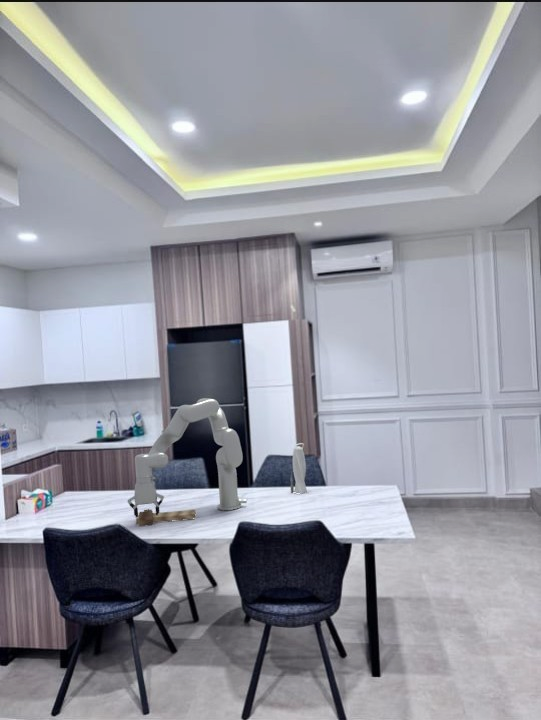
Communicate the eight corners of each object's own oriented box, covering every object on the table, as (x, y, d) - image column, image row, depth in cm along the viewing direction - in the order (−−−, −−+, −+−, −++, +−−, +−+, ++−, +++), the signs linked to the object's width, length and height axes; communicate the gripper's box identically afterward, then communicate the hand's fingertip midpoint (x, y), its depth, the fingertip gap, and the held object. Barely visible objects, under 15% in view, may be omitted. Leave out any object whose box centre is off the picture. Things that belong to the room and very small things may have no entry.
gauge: (155, 518, 241) (154, 504, 242) (152, 525, 230) (151, 510, 231) (143, 519, 241) (142, 505, 241) (139, 526, 230) (138, 511, 230)
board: (195, 514, 245) (195, 509, 245) (194, 519, 237) (194, 514, 237) (139, 519, 242) (139, 514, 242) (136, 524, 234) (136, 518, 234)
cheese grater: (300, 490, 284) (298, 442, 285) (310, 492, 278) (307, 443, 278) (290, 493, 278) (287, 444, 279) (299, 495, 272) (296, 445, 273)
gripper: (163, 476, 237) (166, 511, 237) (127, 480, 236) (130, 515, 235) (161, 480, 230) (164, 516, 230) (124, 483, 228) (127, 520, 228)
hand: (147, 515), depth 233 cm, fingers open, 9 cm apart
